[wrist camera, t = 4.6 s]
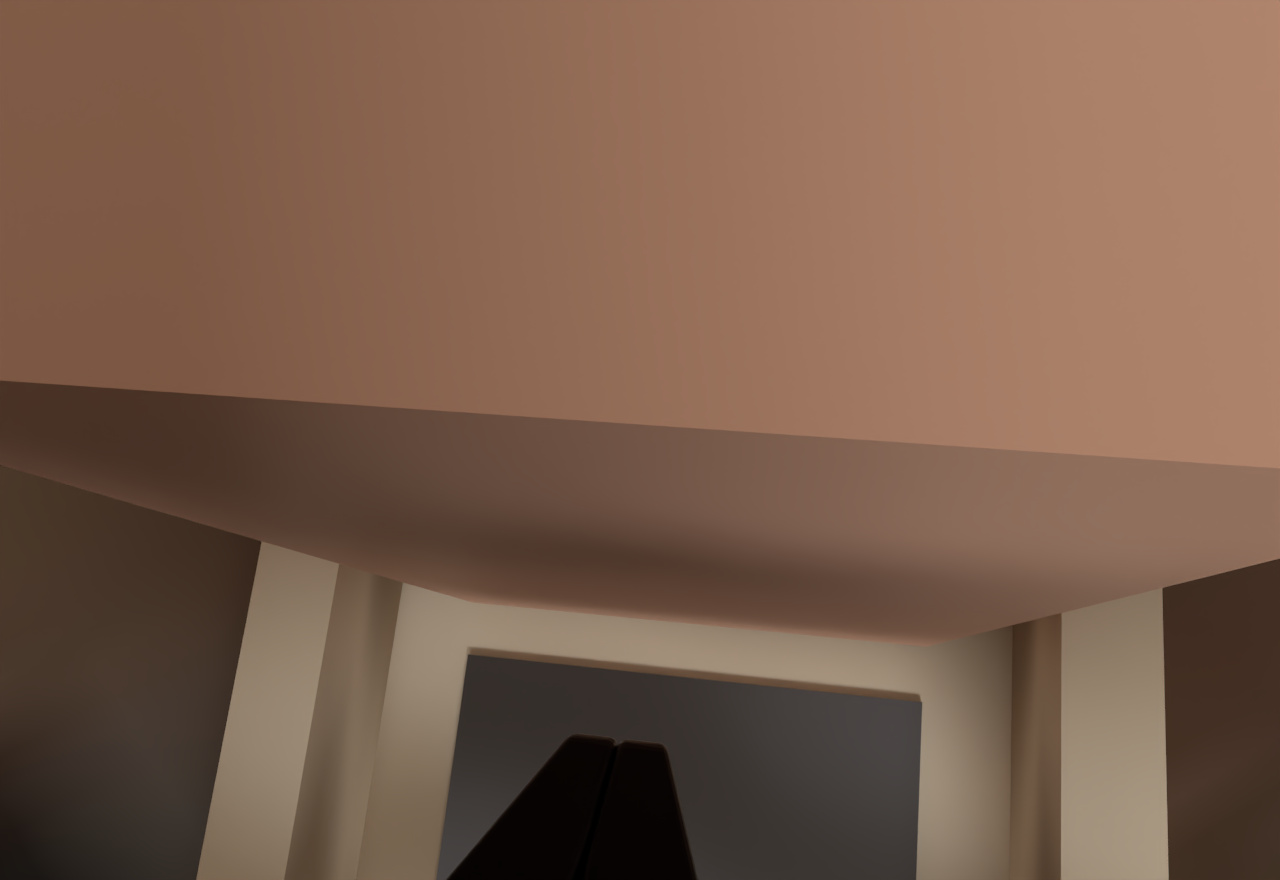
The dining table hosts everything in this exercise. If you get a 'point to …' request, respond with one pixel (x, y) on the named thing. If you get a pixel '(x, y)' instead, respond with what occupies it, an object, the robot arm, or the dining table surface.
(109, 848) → the dining table surface
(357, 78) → the block
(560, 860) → the robot arm
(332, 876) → the beige tray
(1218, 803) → the dining table surface
